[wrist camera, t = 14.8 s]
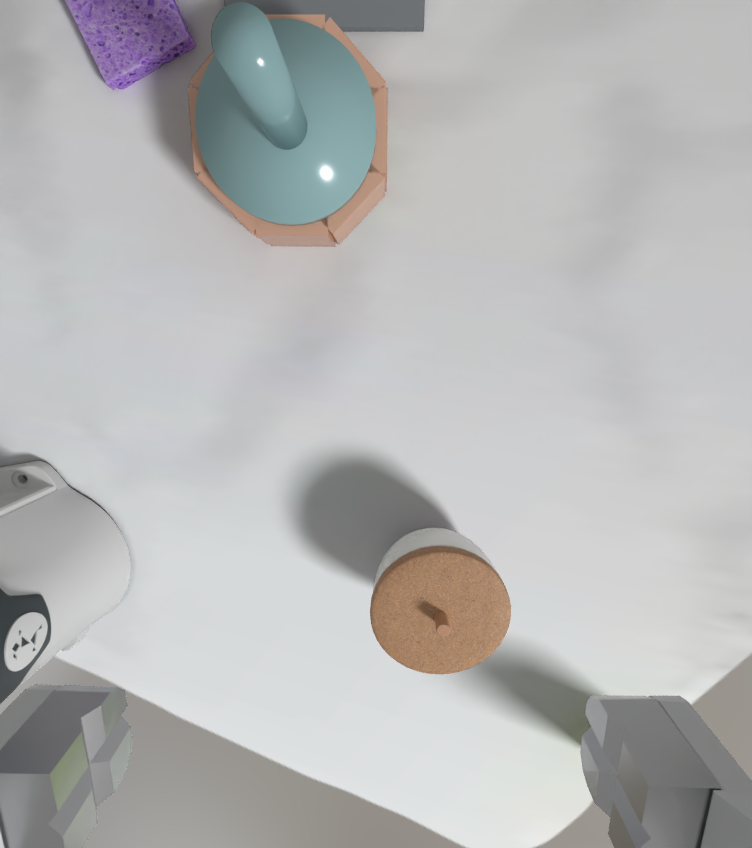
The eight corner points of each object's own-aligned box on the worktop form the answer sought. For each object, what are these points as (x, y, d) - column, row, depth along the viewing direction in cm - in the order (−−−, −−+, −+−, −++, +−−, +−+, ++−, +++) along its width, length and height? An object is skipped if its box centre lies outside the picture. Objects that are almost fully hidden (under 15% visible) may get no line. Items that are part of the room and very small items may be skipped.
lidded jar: (348, 560, 42) (338, 627, 33) (434, 485, 40) (449, 534, 31) (426, 633, 43) (438, 716, 34) (512, 564, 41) (548, 633, 32)
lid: (208, 225, 31) (127, 181, 21) (194, 28, 28) (95, -124, 19) (375, 226, 31) (372, 183, 21) (377, 29, 28) (374, -125, 18)
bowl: (221, 245, 36) (199, 235, 31) (209, 55, 33) (182, 14, 28) (385, 246, 35) (385, 236, 31) (388, 55, 32) (388, 14, 28)
